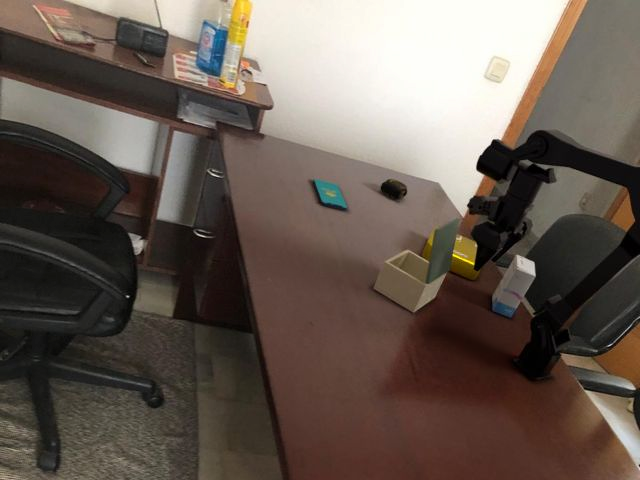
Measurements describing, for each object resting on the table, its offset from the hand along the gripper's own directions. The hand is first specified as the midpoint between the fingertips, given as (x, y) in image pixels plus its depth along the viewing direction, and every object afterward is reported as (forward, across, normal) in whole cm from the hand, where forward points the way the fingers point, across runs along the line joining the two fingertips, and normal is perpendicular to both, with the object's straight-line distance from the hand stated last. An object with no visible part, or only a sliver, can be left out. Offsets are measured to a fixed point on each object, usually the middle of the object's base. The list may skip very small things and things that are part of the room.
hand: (484, 265), depth 138 cm
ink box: (+13, -17, +4) cm, 22 cm away
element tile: (+13, -26, -15) cm, 33 cm away
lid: (0, +4, -9) cm, 10 cm away
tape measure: (+13, -43, -45) cm, 63 cm away
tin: (+13, +4, -12) cm, 18 cm away
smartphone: (+12, -20, -52) cm, 57 cm away
